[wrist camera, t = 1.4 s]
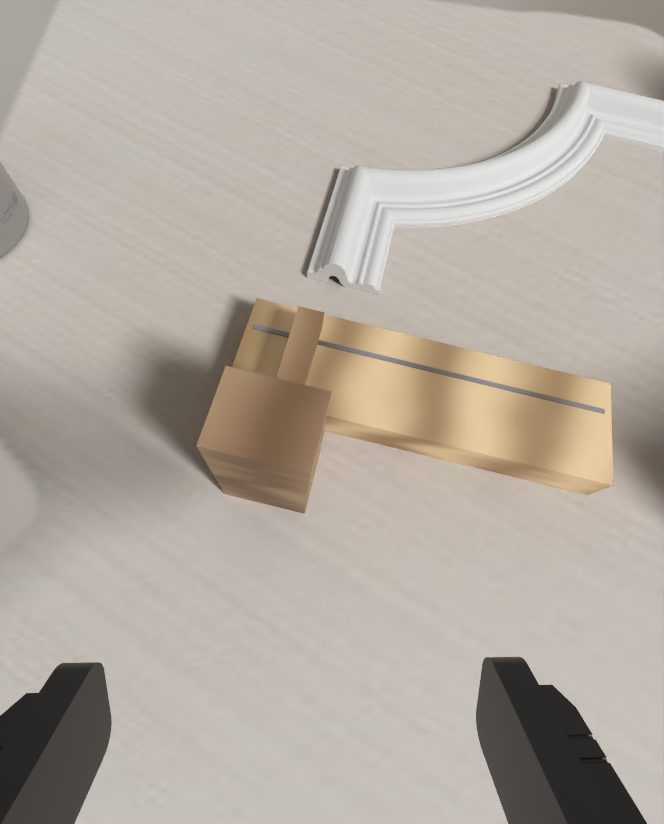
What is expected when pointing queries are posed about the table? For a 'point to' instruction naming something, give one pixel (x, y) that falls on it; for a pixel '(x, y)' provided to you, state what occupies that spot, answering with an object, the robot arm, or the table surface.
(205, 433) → the wooden block with tab
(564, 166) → the molding
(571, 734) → the robot arm
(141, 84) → the table surface
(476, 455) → the plank
